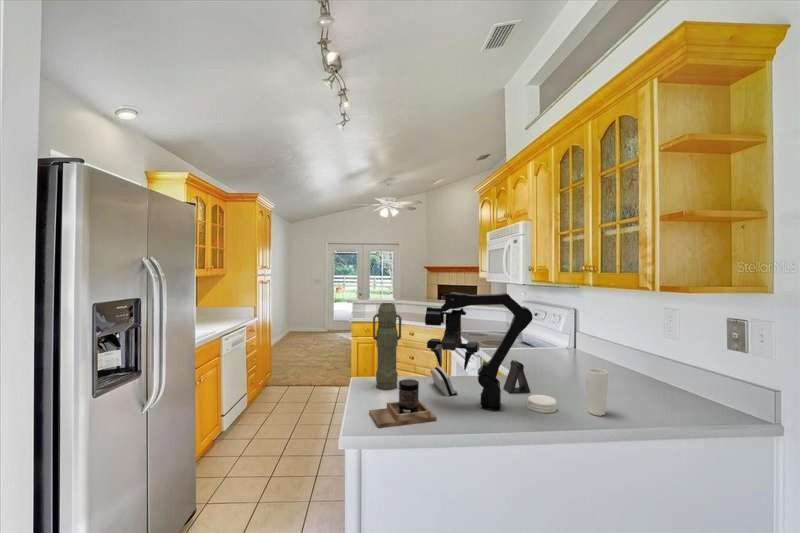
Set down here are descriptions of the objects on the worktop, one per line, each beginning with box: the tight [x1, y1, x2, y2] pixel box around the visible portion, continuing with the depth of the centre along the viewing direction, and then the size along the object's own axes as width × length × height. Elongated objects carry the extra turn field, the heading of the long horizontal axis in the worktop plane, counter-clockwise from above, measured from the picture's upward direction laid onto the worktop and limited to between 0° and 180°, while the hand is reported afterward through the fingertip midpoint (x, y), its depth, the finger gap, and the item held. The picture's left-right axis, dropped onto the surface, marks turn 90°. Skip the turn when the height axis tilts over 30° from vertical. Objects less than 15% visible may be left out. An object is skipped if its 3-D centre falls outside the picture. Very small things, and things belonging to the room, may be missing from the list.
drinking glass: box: [585, 367, 609, 417], centre depth 135 cm, size 7×7×15 cm
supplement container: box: [398, 378, 420, 414], centre depth 131 cm, size 7×7×10 cm
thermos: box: [372, 302, 403, 391], centre depth 162 cm, size 9×12×35 cm
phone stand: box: [503, 359, 531, 395], centre depth 159 cm, size 9×6×12 cm, turn 99°
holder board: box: [368, 400, 438, 429], centre depth 131 cm, size 20×12×3 cm, turn 108°
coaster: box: [526, 394, 558, 414], centre depth 140 cm, size 10×10×4 cm
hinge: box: [430, 366, 459, 397], centre depth 160 cm, size 17×5×10 cm, turn 12°
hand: (452, 368), depth 144 cm, fingers open, 9 cm apart
